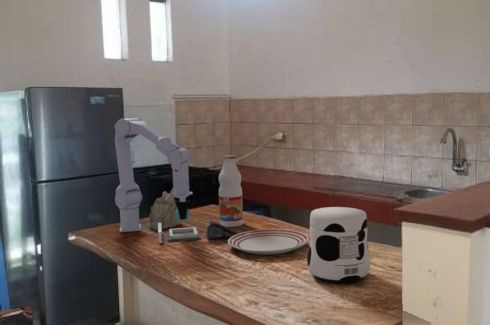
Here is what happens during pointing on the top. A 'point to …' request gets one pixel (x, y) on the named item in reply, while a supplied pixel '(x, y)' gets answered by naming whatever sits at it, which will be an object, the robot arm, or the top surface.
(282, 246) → the dinner plate
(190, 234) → the mat
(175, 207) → the jagged rock
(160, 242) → the wall
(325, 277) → the milk container
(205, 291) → the top surface
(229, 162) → the fruit juice
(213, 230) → the chocolate cake
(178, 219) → the ball
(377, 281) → the top surface
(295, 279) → the top surface
